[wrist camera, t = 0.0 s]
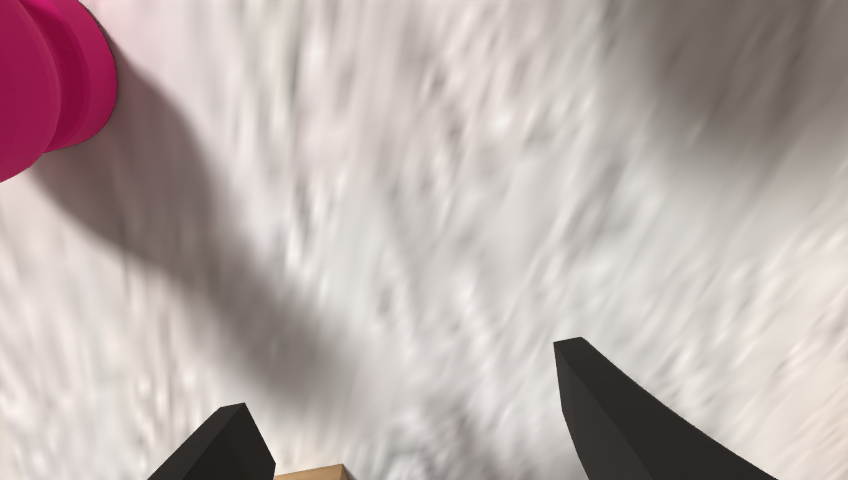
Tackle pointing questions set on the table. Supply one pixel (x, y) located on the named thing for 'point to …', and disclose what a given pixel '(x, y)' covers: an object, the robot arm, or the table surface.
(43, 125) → the pepper mill
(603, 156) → the table surface
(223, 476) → the robot arm
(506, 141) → the table surface
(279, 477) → the block
